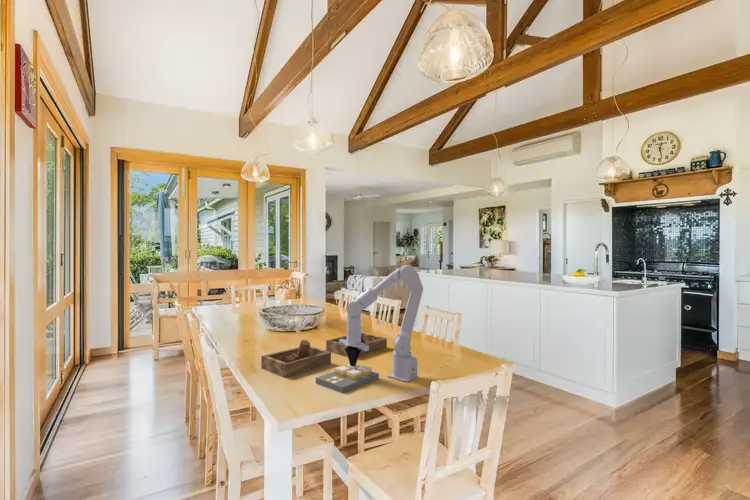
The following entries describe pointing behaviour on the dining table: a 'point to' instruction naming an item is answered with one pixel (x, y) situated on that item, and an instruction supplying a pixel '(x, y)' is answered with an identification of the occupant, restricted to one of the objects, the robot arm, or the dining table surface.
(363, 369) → the button
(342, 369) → the button
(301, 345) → the wooden block set
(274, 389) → the dining table surface
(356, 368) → the button
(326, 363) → the trays
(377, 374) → the board
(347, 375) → the button
